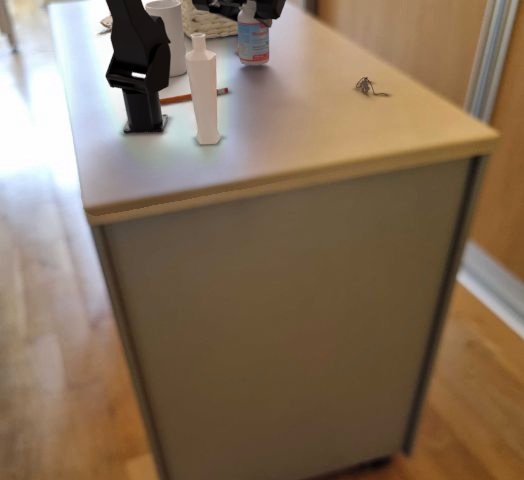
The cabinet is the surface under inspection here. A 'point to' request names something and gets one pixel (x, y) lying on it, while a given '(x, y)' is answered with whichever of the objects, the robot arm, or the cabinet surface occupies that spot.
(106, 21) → the butterfly
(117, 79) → the robot arm
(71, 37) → the cabinet surface
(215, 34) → the basket
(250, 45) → the pill bottle
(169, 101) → the pencil
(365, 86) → the pendant
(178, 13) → the mug
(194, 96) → the perfume bottle
